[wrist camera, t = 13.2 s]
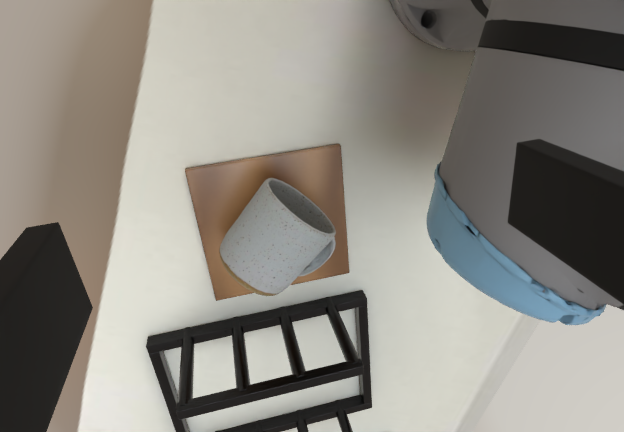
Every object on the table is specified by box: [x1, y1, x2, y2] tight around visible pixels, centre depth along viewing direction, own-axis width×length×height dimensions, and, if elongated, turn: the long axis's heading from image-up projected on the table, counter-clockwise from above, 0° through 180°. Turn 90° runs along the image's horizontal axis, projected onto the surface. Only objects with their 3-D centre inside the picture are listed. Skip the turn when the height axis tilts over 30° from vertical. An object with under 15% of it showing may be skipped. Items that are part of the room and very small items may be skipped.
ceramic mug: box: [219, 178, 336, 296], centre depth 39 cm, size 11×8×8 cm
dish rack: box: [146, 290, 372, 432], centre depth 45 cm, size 23×17×10 cm
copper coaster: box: [185, 144, 349, 301], centre depth 42 cm, size 14×14×1 cm
